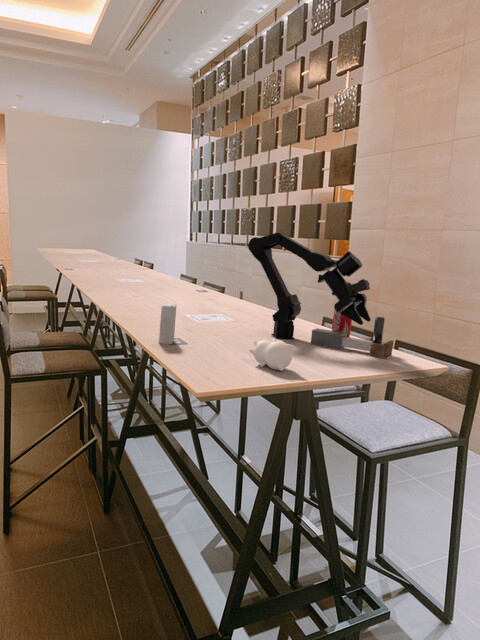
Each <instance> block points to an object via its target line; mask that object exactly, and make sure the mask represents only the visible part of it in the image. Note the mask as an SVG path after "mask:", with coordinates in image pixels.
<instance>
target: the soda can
mask: <svg viewBox="0 0 480 640" xmlns="http://www.w3.org/2000/svg"><path fill="white" fill-rule="evenodd" d="M342 311H343V310H341V312H342ZM352 321H353V320H351V319H349V318H348V317H346V316H344V315H342V314H340V312H338V313H337V311H336V310H335V309H334V311H333V316H332V323H331V324H332V325H331V331H336V332H342V333H346V336H345V337H350V336H351V330H352V323H353V322H352Z"/></svg>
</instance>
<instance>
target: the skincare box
mask: <svg viewBox="0 0 480 640" xmlns="http://www.w3.org/2000/svg"><path fill="white" fill-rule="evenodd" d="M160 312H161V313H160V321H159V322H160V324H159V337H158V343H159V344H163V345H164V344H165V345H172V344H173V343H174V340H175V332H176V331H175V329H176V328H175V327H176V318H177V317H176V316H177V303H168V302H167V303H166V302H165V303H163V304H162V305H161V311H160Z"/></svg>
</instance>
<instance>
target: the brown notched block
mask: <svg viewBox="0 0 480 640" xmlns="http://www.w3.org/2000/svg"><path fill="white" fill-rule="evenodd" d="M382 343H385V346H383V345H377V344H371V349H370V351H369V356H370V357H374V358H379V359H380V358H381V359H384V360H387V359H388V358H390V357H391V356H392V353H393V348H394V347H393V345H394V340H392V339H390V340H388V341H386V342H384V341H382Z"/></svg>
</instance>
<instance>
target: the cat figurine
mask: <svg viewBox="0 0 480 640" xmlns="http://www.w3.org/2000/svg"><path fill="white" fill-rule="evenodd" d="M253 345H254V348H249V353H251V354H252V355H253V357H254V359H255V361H256V362H257V363H258V364H260V365H259V367H260V368H262V367H265V365H267V367H269V369H271V370H275V371H282V372H283V371H284V369H286V368H287V367H288V366H289V365H290V364H291V362H292V360H293V350H294V348H295V346H294V345H293V344H287V343H286V342H283V341H281V340H276V339H274V338H273V339H272V340H271V341H270V340H267V339H264V340H261V341H259V340H253Z"/></svg>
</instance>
